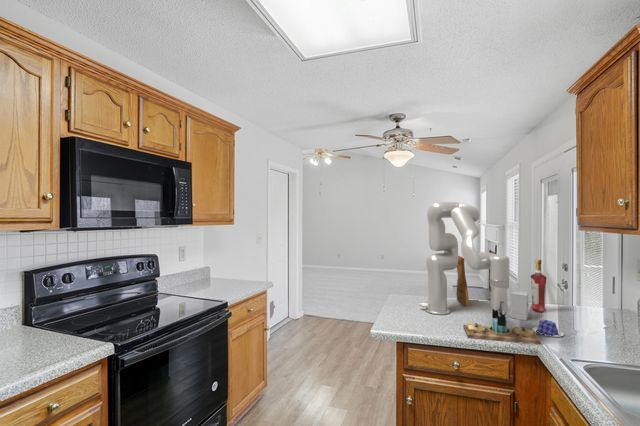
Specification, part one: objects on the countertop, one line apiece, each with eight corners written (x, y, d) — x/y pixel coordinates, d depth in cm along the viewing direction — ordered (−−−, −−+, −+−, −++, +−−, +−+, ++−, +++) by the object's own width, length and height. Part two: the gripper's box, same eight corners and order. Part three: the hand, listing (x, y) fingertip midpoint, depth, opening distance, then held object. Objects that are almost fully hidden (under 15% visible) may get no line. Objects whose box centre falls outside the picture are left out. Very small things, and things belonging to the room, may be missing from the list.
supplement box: (526, 320, 171) (526, 295, 170) (510, 317, 175) (510, 293, 175) (528, 316, 177) (528, 292, 176) (512, 314, 181) (512, 290, 181)
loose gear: (494, 333, 149) (494, 321, 149) (491, 328, 154) (491, 317, 154) (508, 334, 148) (508, 322, 148) (504, 330, 153) (504, 318, 153)
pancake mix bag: (458, 306, 195) (458, 257, 195) (452, 298, 214) (452, 253, 213) (470, 307, 194) (471, 258, 193) (464, 298, 212) (464, 253, 212)
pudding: (570, 336, 150) (570, 324, 150) (550, 339, 147) (550, 327, 147) (545, 327, 162) (545, 316, 162) (525, 330, 158) (525, 318, 158)
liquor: (527, 309, 190) (527, 258, 189) (541, 309, 189) (541, 258, 189) (535, 313, 182) (535, 260, 182) (549, 313, 182) (549, 260, 182)
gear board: (467, 338, 148) (467, 327, 148) (463, 327, 161) (463, 318, 161) (540, 344, 141) (540, 333, 141) (530, 333, 154) (530, 323, 154)
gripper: (486, 278, 160) (485, 314, 161) (494, 287, 143) (494, 327, 144) (503, 279, 158) (503, 316, 159) (514, 288, 141) (513, 329, 142)
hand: (498, 321), depth 151 cm, fingers open, 9 cm apart
